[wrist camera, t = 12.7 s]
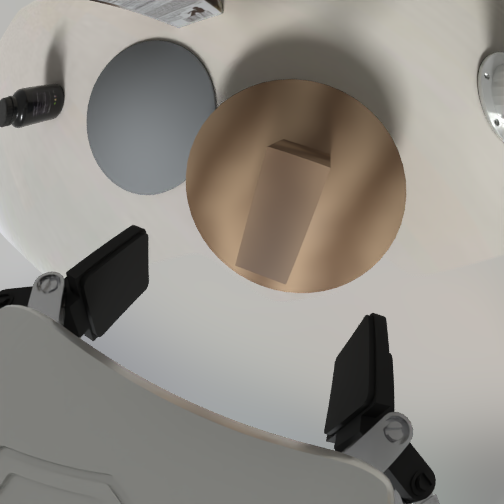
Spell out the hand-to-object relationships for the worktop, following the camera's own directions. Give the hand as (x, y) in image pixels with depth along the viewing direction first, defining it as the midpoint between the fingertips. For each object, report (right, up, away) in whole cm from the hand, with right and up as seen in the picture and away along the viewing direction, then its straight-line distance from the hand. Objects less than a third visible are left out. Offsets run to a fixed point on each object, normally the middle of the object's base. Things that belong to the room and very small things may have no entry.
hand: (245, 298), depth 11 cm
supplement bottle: (-35, +29, +22) cm, 50 cm away
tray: (-14, +20, +20) cm, 32 cm away
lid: (+4, +7, +13) cm, 15 cm away
